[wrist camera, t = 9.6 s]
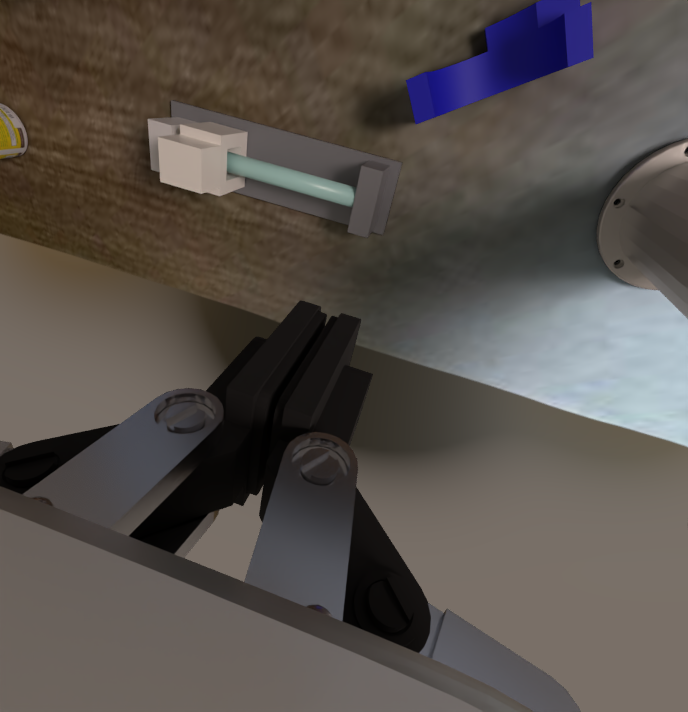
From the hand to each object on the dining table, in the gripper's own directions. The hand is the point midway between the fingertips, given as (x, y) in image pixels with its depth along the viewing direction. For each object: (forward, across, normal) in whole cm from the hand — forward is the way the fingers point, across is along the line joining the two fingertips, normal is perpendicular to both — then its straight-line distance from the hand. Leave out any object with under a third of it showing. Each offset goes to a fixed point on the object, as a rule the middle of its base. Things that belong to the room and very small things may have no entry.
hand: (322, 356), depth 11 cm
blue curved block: (+34, -2, -9) cm, 35 cm away
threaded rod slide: (+33, +14, +3) cm, 36 cm away
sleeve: (+33, +20, +3) cm, 38 cm away
